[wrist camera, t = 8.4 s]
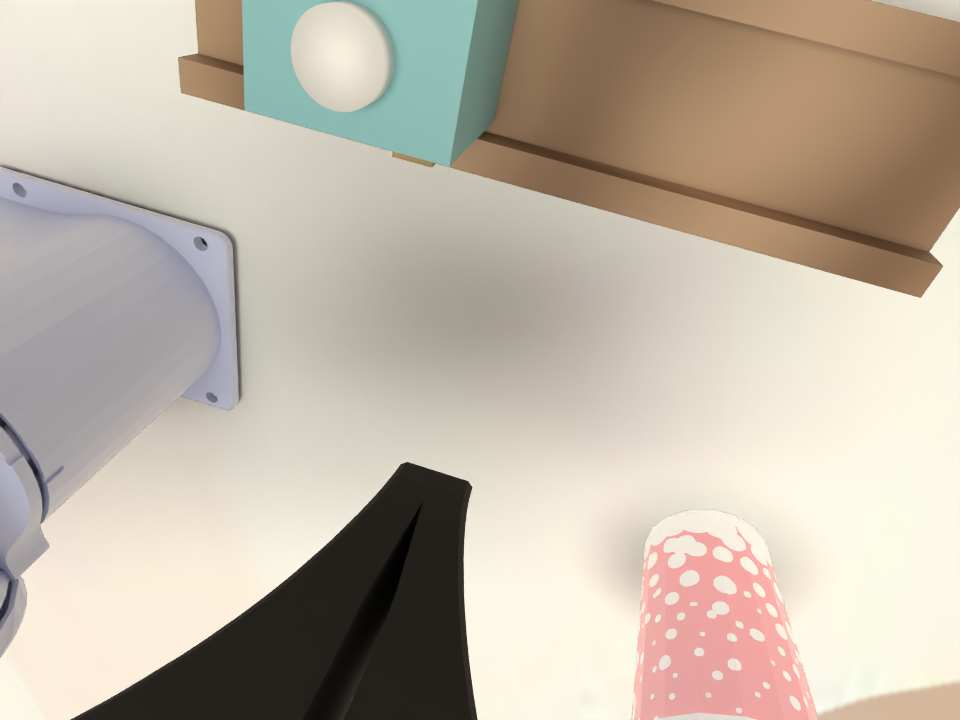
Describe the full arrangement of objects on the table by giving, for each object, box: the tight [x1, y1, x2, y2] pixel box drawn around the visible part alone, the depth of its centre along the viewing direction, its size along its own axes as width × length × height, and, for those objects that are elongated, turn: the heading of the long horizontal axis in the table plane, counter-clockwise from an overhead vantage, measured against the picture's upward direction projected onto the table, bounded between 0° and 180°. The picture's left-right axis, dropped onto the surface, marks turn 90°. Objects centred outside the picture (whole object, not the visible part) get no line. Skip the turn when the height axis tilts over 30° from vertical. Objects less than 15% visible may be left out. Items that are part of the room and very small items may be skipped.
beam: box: [178, 0, 960, 298], centre depth 14 cm, size 18×6×4 cm, turn 78°
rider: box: [242, 0, 519, 167], centre depth 12 cm, size 4×3×5 cm
